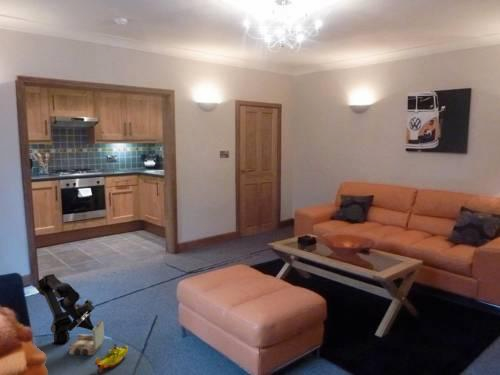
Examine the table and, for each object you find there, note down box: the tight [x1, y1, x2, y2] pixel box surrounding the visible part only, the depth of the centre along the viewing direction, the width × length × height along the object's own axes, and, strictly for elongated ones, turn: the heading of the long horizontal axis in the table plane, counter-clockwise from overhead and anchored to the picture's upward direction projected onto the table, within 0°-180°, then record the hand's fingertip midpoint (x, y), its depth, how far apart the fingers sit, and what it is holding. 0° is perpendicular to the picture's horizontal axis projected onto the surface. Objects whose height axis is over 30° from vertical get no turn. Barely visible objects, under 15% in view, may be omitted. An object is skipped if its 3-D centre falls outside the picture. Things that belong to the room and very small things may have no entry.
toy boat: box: [94, 343, 129, 374], centre depth 186 cm, size 6×18×10 cm, turn 152°
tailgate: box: [92, 318, 105, 349], centre depth 198 cm, size 2×10×12 cm, turn 177°
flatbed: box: [68, 333, 103, 356], centre depth 199 cm, size 12×11×5 cm
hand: (93, 329), depth 198 cm, fingers closed
